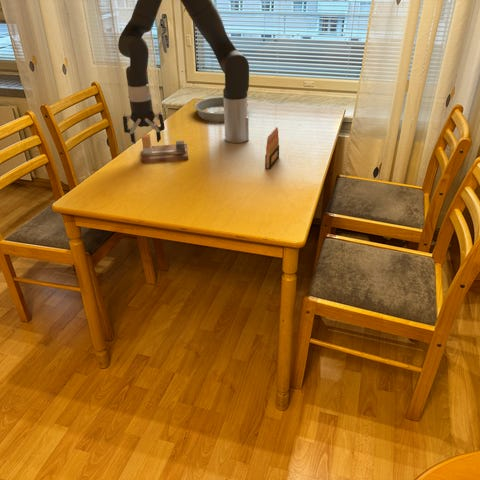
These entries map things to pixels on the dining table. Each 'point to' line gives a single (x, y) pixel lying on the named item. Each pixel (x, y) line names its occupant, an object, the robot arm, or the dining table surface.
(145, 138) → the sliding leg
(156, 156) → the brown slider base
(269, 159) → the ammunition clip
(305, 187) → the dining table surface
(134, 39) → the robot arm
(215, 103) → the cake pan
